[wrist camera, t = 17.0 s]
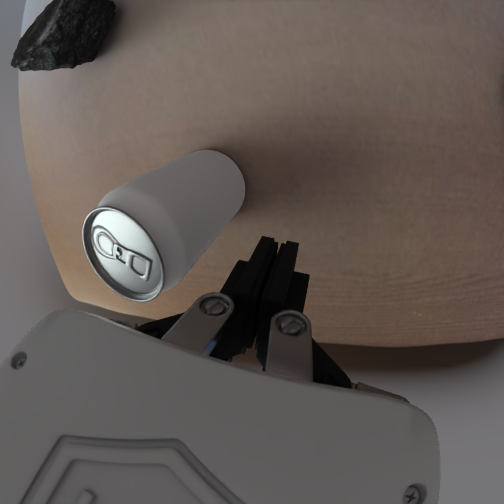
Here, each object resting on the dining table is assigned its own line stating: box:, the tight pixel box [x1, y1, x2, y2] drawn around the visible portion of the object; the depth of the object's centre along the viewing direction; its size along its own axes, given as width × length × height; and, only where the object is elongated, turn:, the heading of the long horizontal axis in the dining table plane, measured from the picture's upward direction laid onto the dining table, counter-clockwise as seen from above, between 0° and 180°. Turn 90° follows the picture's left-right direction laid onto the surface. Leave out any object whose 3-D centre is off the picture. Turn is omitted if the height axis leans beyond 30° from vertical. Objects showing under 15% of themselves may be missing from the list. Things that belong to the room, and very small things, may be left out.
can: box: [82, 150, 245, 302], centre depth 18 cm, size 6×6×12 cm
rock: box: [11, 0, 116, 71], centre depth 12 cm, size 8×7×10 cm
